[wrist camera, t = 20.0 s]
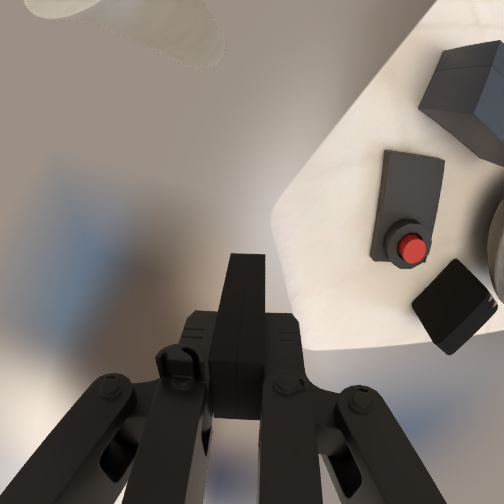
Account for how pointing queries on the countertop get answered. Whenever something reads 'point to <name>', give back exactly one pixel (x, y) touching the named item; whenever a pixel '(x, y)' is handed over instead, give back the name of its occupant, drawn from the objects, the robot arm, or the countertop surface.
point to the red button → (412, 248)
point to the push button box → (406, 204)
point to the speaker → (470, 98)
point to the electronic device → (454, 307)
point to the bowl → (497, 251)
